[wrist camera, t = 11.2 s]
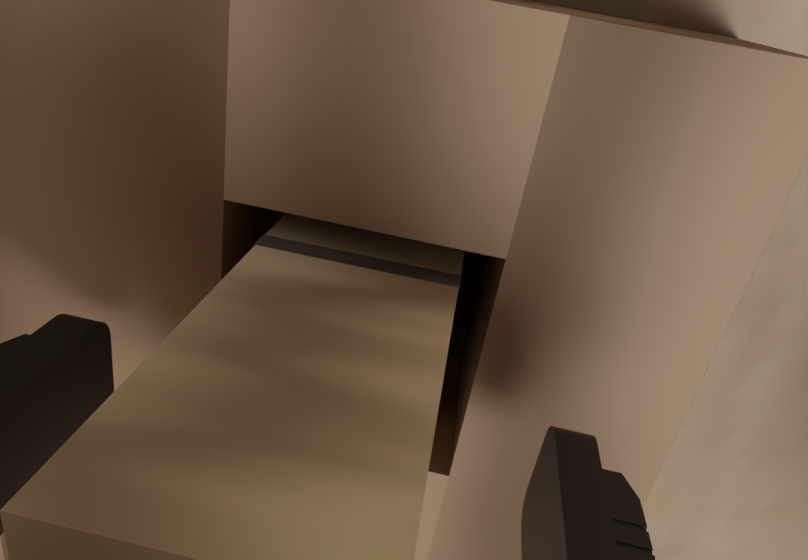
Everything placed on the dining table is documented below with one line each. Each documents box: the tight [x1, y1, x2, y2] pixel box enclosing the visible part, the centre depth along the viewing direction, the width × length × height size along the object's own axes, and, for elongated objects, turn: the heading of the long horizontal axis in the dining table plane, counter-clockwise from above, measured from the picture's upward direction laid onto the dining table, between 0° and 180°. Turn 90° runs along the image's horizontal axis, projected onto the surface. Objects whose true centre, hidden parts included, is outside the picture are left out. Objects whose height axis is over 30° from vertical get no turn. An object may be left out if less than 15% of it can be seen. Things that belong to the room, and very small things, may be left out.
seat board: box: [0, 0, 808, 560], centre depth 14 cm, size 22×20×12 cm
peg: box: [0, 213, 465, 560], centre depth 12 cm, size 4×4×12 cm
